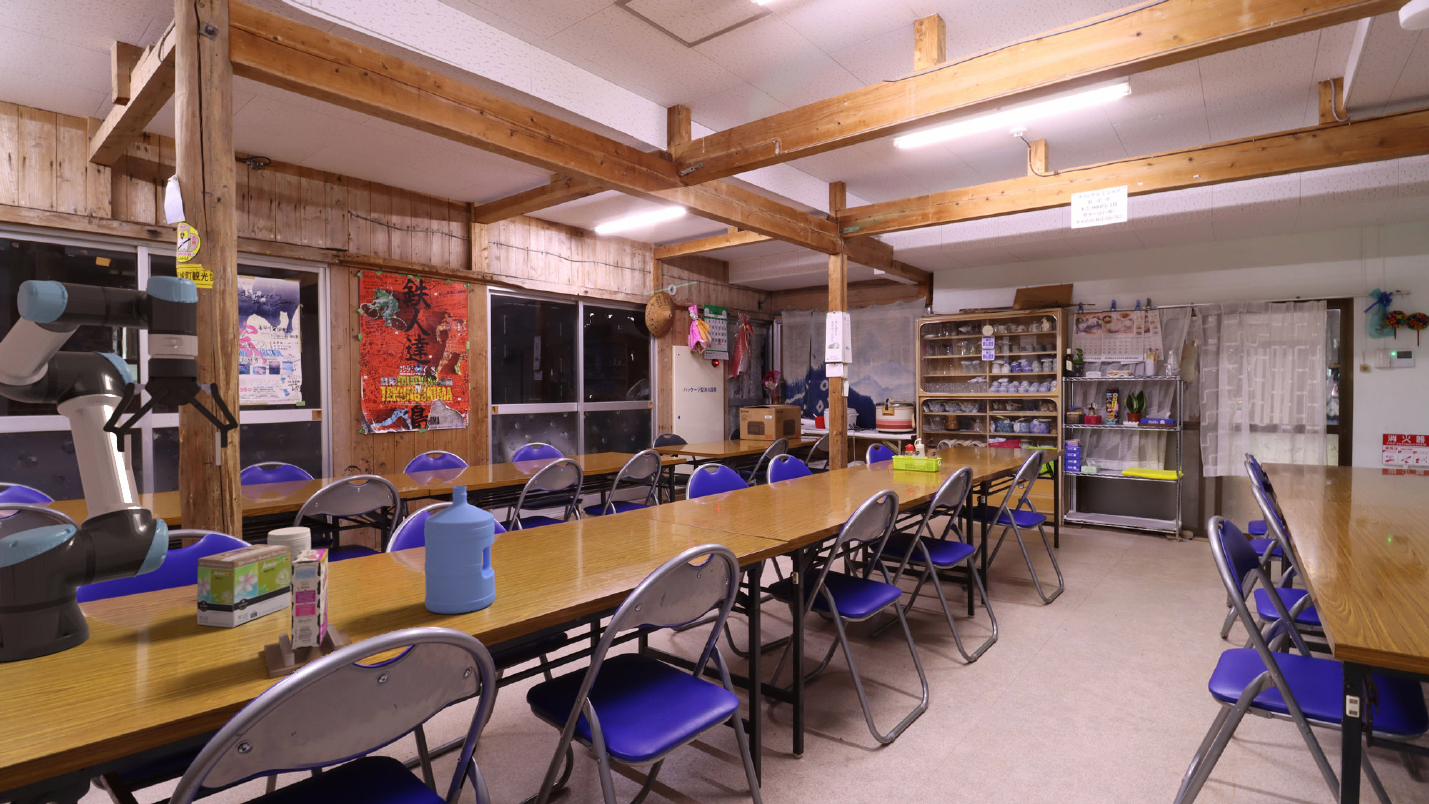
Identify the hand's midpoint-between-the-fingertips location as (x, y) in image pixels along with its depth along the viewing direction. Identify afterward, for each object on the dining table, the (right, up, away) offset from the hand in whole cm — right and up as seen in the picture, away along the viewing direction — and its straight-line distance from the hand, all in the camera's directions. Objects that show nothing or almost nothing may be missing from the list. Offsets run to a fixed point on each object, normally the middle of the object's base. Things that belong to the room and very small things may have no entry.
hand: (174, 467), depth 129 cm
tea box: (-1, -36, +21) cm, 42 cm away
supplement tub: (-5, -36, +43) cm, 56 cm away
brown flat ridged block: (+27, -36, -1) cm, 45 cm away
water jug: (+45, -36, +29) cm, 64 cm away
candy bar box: (+27, -33, -1) cm, 43 cm away
